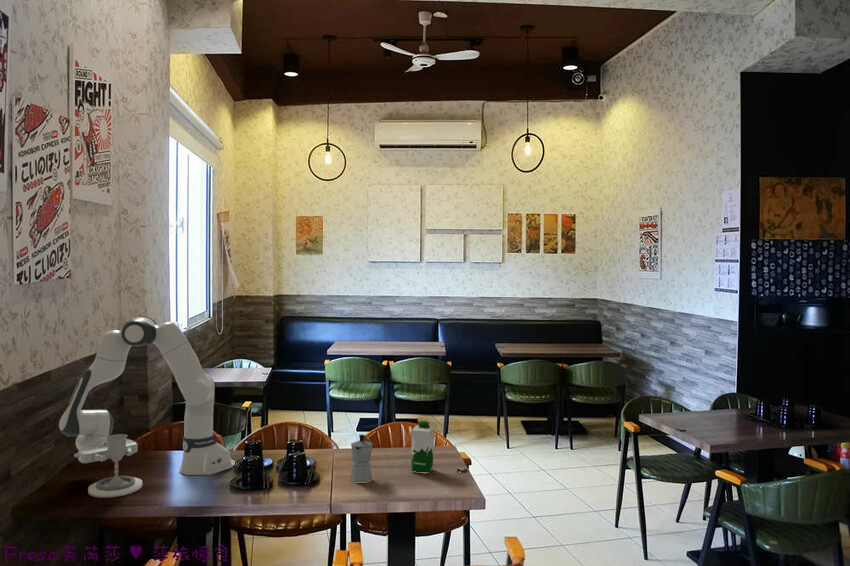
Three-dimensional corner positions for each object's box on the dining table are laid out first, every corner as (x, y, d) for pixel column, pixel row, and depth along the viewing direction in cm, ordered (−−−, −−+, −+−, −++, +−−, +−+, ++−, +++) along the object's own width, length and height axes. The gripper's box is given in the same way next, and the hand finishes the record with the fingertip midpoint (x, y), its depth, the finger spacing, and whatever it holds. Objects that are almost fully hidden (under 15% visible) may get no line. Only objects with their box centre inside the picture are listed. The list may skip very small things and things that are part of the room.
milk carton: (434, 468, 258) (435, 421, 258) (429, 475, 249) (430, 426, 249) (414, 467, 260) (415, 420, 260) (409, 473, 251) (409, 425, 251)
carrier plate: (129, 477, 241) (129, 470, 241) (151, 488, 229) (151, 481, 229) (80, 489, 227) (80, 482, 227) (100, 501, 215) (100, 493, 215)
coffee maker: (367, 486, 235) (367, 439, 235) (345, 484, 237) (346, 438, 237) (377, 474, 250) (378, 430, 250) (357, 472, 252) (357, 428, 251)
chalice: (121, 480, 233) (122, 433, 233) (130, 484, 229) (131, 436, 228) (101, 485, 227) (102, 436, 227) (110, 489, 223) (110, 440, 223)
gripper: (72, 446, 228) (87, 453, 219) (127, 435, 244) (144, 442, 235) (72, 462, 228) (87, 471, 219) (127, 451, 244) (144, 458, 235)
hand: (117, 456), depth 227 cm, fingers open, 8 cm apart
